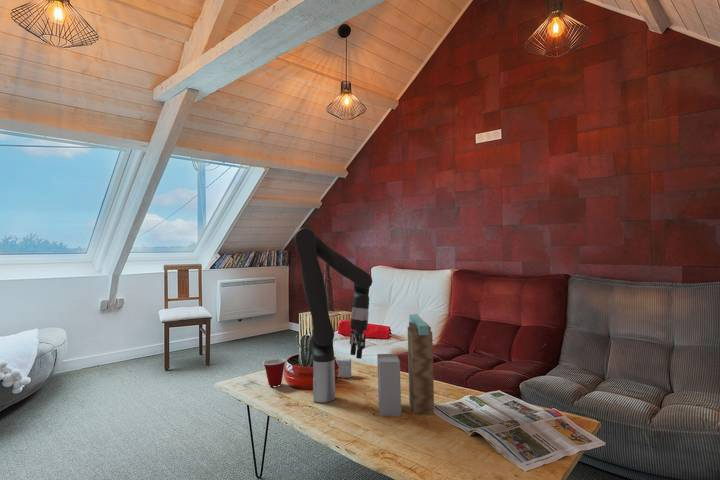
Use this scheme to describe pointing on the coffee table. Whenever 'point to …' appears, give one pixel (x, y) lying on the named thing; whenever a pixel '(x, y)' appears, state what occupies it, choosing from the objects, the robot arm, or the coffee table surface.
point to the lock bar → (419, 324)
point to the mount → (420, 371)
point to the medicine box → (344, 368)
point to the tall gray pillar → (389, 385)
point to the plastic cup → (274, 371)
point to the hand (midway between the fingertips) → (355, 356)
